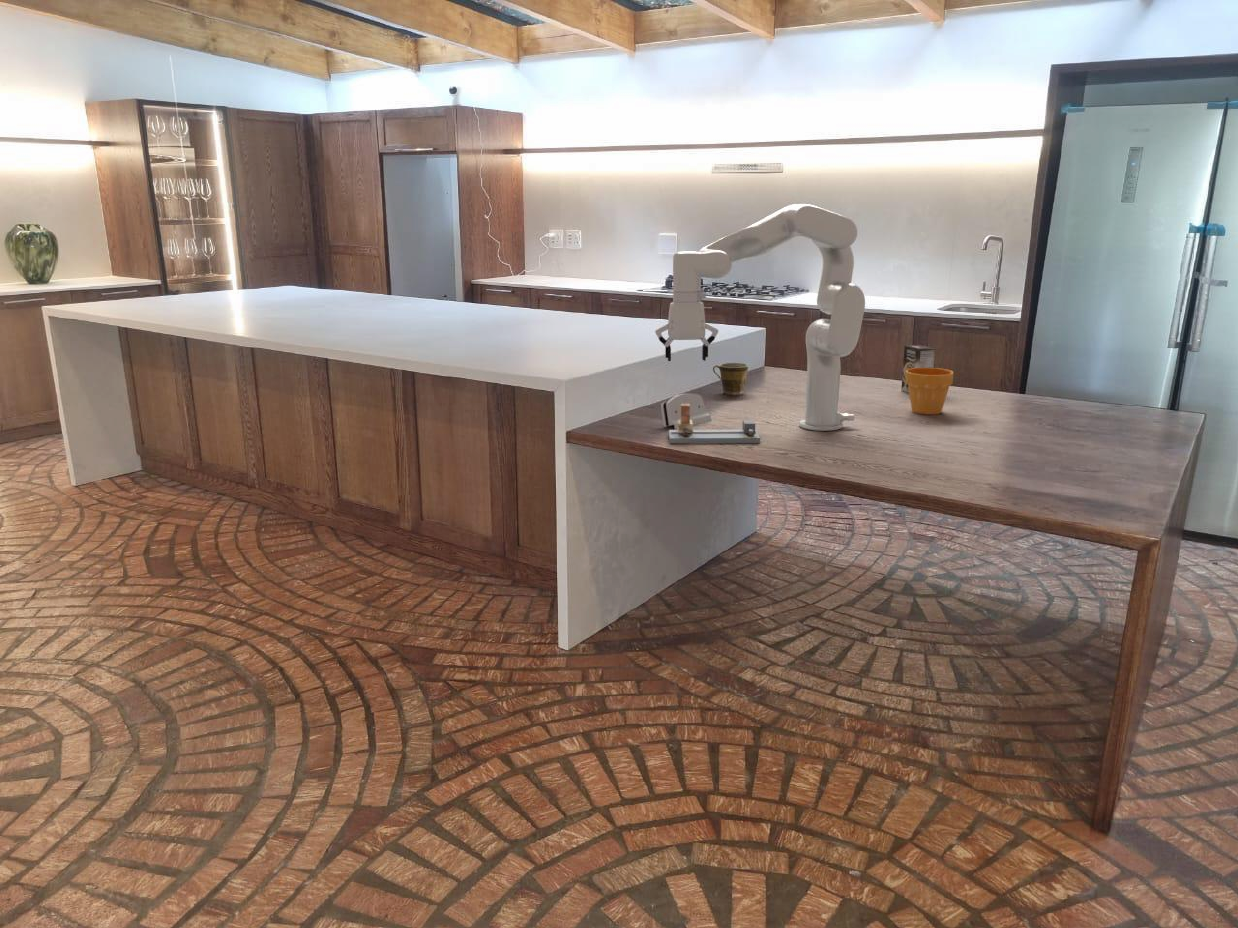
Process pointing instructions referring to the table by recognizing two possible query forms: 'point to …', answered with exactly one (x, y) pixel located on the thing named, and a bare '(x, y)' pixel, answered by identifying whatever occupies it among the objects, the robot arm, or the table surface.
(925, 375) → the flower pot
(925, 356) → the coffee box
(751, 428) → the gauge board
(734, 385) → the ceramic cup
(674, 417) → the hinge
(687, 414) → the block
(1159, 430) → the table surface
